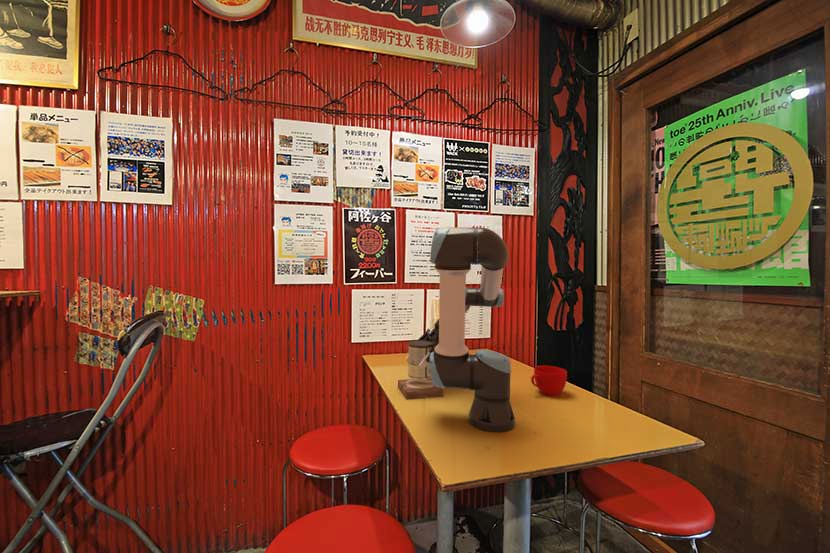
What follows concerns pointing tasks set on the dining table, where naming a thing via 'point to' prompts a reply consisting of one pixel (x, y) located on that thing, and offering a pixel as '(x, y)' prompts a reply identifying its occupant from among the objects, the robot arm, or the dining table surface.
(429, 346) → the coffee can
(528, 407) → the dining table surface
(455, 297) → the robot arm
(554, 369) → the ceramic cup
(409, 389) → the base
